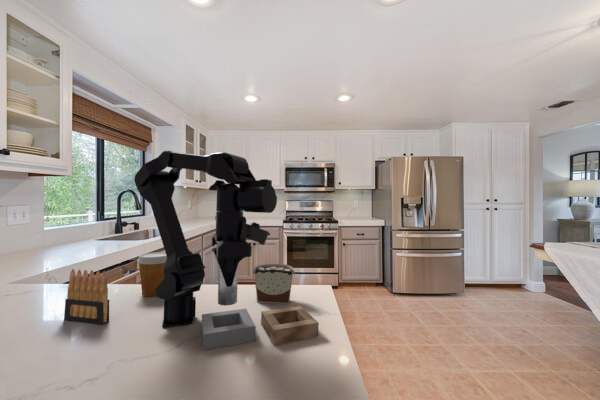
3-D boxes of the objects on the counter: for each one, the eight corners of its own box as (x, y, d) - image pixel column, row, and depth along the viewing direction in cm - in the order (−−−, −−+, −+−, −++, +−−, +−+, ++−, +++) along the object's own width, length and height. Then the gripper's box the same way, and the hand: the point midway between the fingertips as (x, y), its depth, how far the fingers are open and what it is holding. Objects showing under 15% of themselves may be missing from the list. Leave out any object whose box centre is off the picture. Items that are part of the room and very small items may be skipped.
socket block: (203, 350, 50) (203, 334, 50) (201, 327, 60) (201, 314, 60) (255, 340, 54) (255, 326, 54) (245, 321, 63) (246, 308, 63)
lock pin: (218, 306, 54) (219, 262, 55) (217, 300, 58) (218, 259, 58) (238, 304, 56) (239, 261, 56) (235, 297, 60) (236, 258, 60)
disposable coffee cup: (158, 286, 89) (159, 251, 89) (177, 291, 84) (178, 253, 85) (129, 294, 80) (130, 255, 81) (148, 300, 76) (149, 258, 76)
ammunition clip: (109, 321, 62) (111, 270, 62) (102, 325, 60) (104, 272, 61) (71, 317, 64) (73, 267, 64) (63, 320, 62) (65, 269, 62)
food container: (296, 296, 81) (297, 264, 81) (294, 304, 75) (294, 268, 75) (257, 294, 82) (258, 262, 83) (252, 301, 76) (252, 267, 76)
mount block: (273, 345, 52) (273, 330, 53) (261, 324, 62) (261, 311, 62) (318, 336, 56) (318, 322, 56) (300, 318, 66) (300, 305, 66)
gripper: (278, 213, 52) (276, 293, 52) (256, 211, 69) (255, 270, 69) (219, 212, 48) (217, 299, 47) (212, 210, 65) (210, 274, 65)
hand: (227, 283), depth 57 cm, fingers closed on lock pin, 4 cm apart
